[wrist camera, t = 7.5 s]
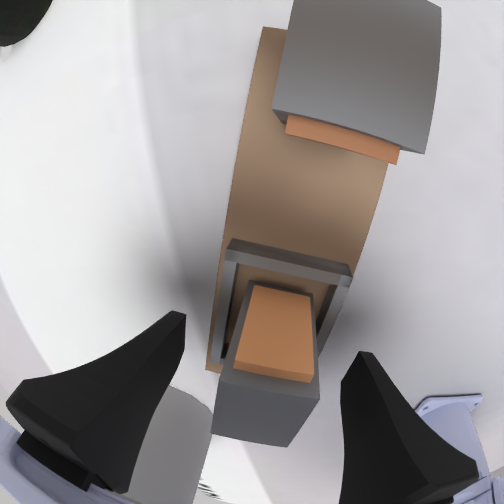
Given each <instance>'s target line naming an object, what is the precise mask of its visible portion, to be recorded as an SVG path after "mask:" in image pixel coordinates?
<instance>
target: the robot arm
mask: <svg viewBox="0 0 504 504" xmlns="http://www.w3.org/2000/svg"><path fill="white" fill-rule="evenodd" d="M185 327H186V314H183V313H179V312H176V311H170V312H169V313H167V314H166V315H165V316H164V317H162V318H161V319H160V320H158V321H157V322H156V323H154V324H153V325H152V326H150V327H149V328H148V329H146V330H145V331H143V332H142V333H141V334H139V335H138V336H136V337H135V338H133V339H132V340H130V341H129V342H127V343H125V344H124V345H122V346H121V347H119V348H117V349H116V350H114V351H112V352H110V353H108V354H107V355H105V356H103V357H101V358H98V359H96V360H94V361H92V362H89V363H87V364H85V365H82V366H79V367H77V368H74V369H71V370H68V371H65V372H61V373H57V374H54V375H49V376H45V377H39V378H33V379H26V380H23V381H22V382H21V383H20V385H19V386H18V387H17V388H16V390H15V391H14V392H13V393H12V395H11V396H10V397H9V398H8V400H7V401H6V406H7V408H8V410H9V411H10V413H11V414H12V415H13V417H14V418H15V419H16V420H17V422H18V423H19V424H20V425H21V426H22V427H23V429H25V430H24V432H23V433H22V435H21V434H20V433H19V432H18V431H17V430H16V429H15V428H14V427H13V426H12V425H10V424H9V423H8V422H7V421H6V420H5V419H4V418H2V417H1V416H0V485H1V486H2V487H3V488H4V489H5V490H6V491H7V492H8V493H9V494H10V495H11V496H12V497H13V498H14V499H15V500H16V501H17V502H18V503H19V504H135V503H132V502H130V501H128V500H125V499H123V498H121V497H118V496H116V495H114V494H112V493H110V492H108V491H106V490H105V489H107V490H109V491H111V492H116V493H118V494H124V493H127V492H128V490H129V486H130V482H131V478H132V475H133V471H134V468H135V465H136V461H137V458H138V455H139V452H140V449H141V446H142V443H143V440H144V438H145V435H146V432H147V429H148V427H149V424H150V422H151V419H152V417H153V414H154V412H155V410H156V408H157V406H158V404H159V402H160V401H161V399H162V397H163V395H164V393H165V391H166V389H167V387H168V386H169V384H170V382H171V380H172V378H173V376H174V374H175V372H176V370H177V368H178V365H179V363H180V360H181V358H182V355H183V352H184V348H185ZM482 400H483V396H482V395H473V396H459V397H436V398H427V399H426V400H424V401H423V403H422V404H421V405H420V406H419V407H418V408H417V409H416V410H415V411H414V409H413V408H412V407H411V406H410V405H409V403H408V402H407V401H406V400H405V398H404V397H403V396H402V394H401V393H400V392H399V390H398V389H397V387H396V386H395V385H394V383H393V382H392V380H391V379H390V377H389V376H388V375H387V373H386V372H385V370H384V369H383V367H382V366H381V364H380V363H379V362H378V360H377V359H376V357H375V356H374V355H373V353H370V352H363V351H359V352H358V354H357V356H356V358H355V359H354V361H353V363H352V365H351V366H350V368H349V370H348V371H347V373H346V375H345V376H344V378H343V379H342V381H341V393H340V405H341V415H342V425H343V436H344V470H343V479H342V488H341V494H340V500H339V504H504V477H501V476H498V477H496V478H495V479H494V477H491V476H490V472H489V468H488V465H487V461H486V458H485V454H484V451H483V448H482V445H481V442H480V439H479V436H478V433H477V430H476V428H475V425H474V422H473V420H472V417H471V414H470V413H471V412H472V411H473V410H474V409H475V408H476V406H477V405H478V404H479V403H480V402H481V401H482Z"/></svg>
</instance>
